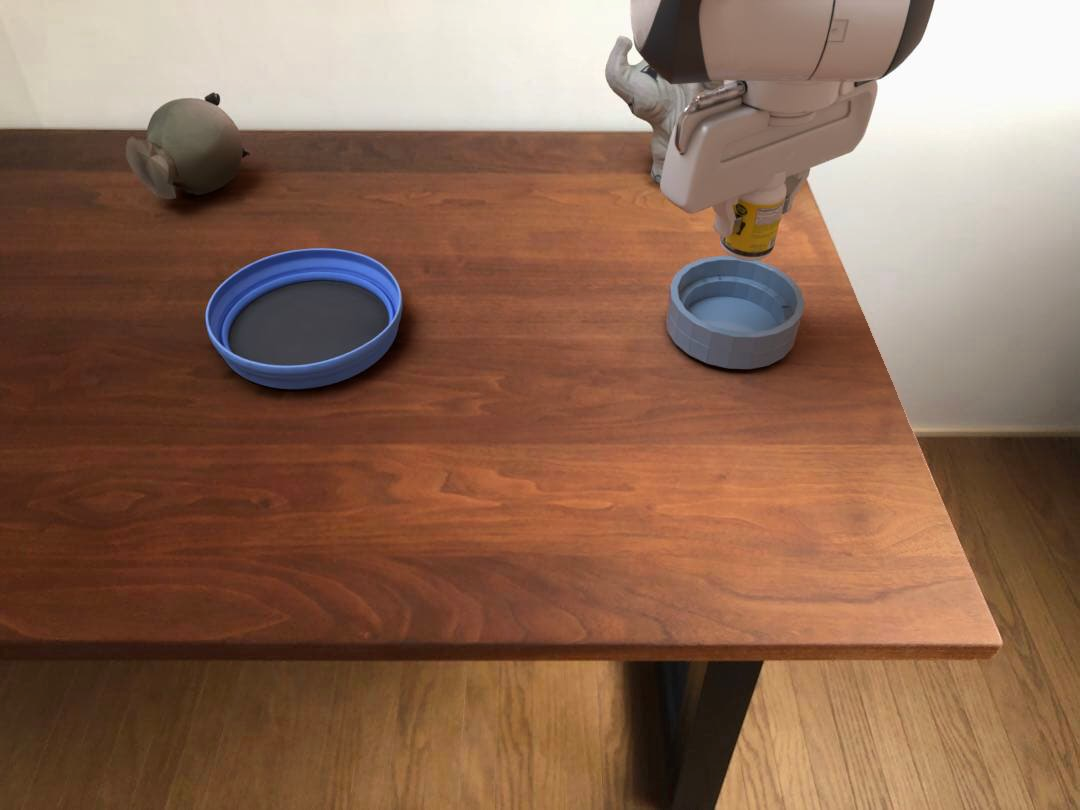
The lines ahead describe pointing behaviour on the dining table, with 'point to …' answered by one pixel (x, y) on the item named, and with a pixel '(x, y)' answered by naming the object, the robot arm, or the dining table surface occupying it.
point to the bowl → (305, 317)
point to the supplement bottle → (757, 221)
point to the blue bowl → (734, 312)
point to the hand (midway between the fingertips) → (752, 221)
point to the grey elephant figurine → (651, 97)
